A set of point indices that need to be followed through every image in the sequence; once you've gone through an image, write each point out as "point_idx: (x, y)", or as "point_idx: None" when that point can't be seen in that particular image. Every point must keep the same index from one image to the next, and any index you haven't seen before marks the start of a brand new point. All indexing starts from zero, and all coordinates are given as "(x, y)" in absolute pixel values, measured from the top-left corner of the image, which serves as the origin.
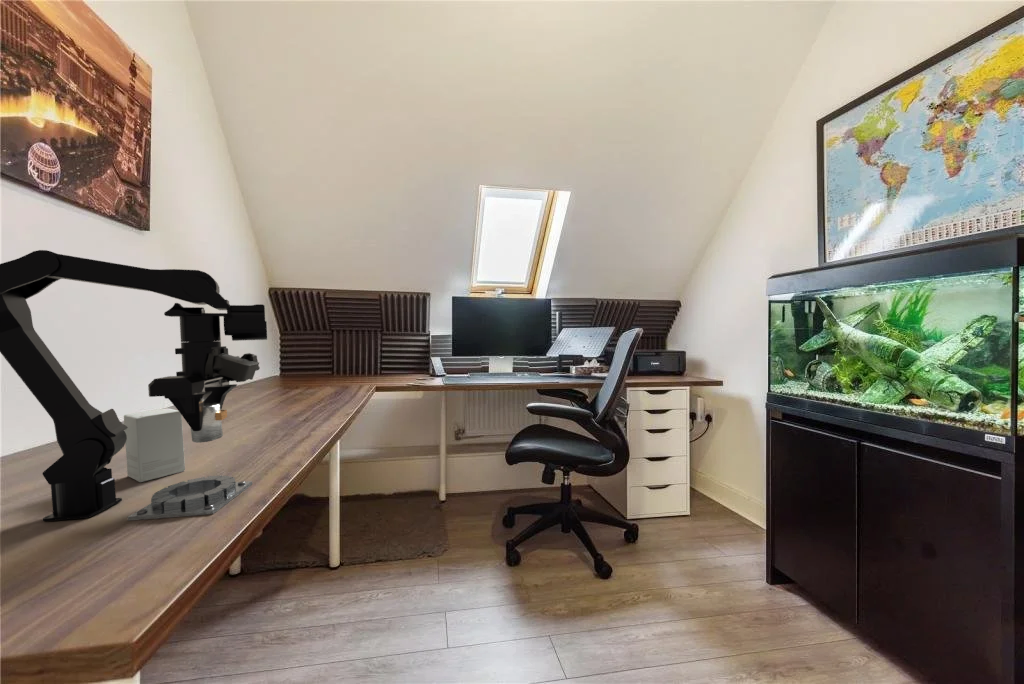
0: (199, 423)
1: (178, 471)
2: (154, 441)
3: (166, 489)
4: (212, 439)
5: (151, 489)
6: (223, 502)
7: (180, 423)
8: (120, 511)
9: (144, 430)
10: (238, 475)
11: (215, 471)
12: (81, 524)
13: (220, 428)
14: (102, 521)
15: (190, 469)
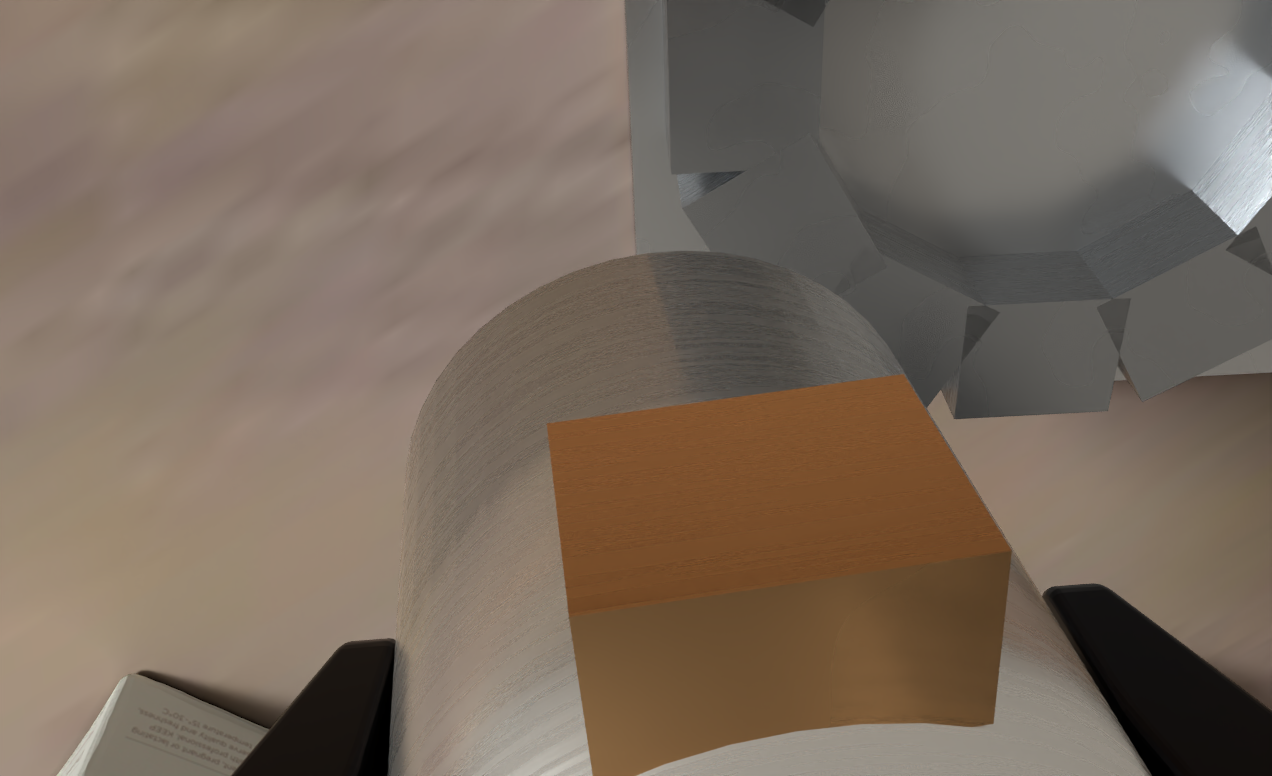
0: (1246, 695)
1: (179, 697)
2: None
3: (1028, 365)
4: (845, 313)
5: None
6: None
7: None
8: (1072, 536)
9: None
10: (236, 7)
11: (113, 381)
12: (1244, 617)
13: (682, 357)
14: (1248, 524)
15: (77, 650)
